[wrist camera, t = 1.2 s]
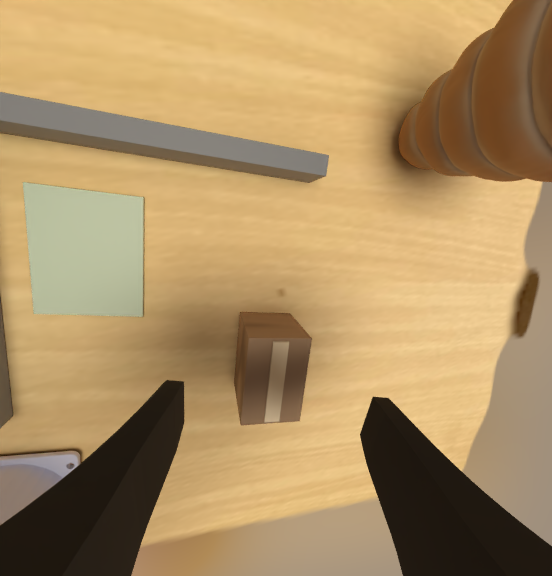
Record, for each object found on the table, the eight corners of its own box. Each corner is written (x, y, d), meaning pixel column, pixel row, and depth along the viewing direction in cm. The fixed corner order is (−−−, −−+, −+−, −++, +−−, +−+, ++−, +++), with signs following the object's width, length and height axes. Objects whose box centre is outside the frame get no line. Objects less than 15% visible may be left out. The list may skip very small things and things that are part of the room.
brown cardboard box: (281, 380, 23) (300, 422, 18) (234, 381, 22) (240, 427, 17) (289, 313, 22) (312, 339, 17) (240, 311, 21) (249, 338, 16)
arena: (281, 401, 23) (291, 426, 21) (-9, 417, 18) (-49, 452, 16) (311, 165, 19) (328, 155, 17) (-49, 100, 14) (-113, 70, 11)
